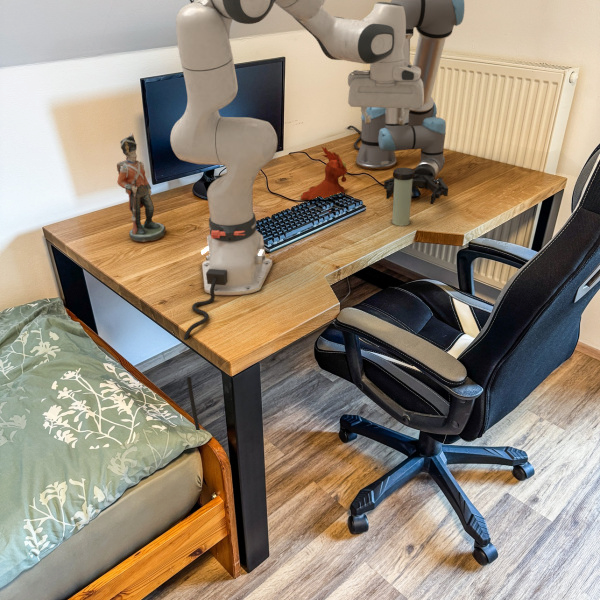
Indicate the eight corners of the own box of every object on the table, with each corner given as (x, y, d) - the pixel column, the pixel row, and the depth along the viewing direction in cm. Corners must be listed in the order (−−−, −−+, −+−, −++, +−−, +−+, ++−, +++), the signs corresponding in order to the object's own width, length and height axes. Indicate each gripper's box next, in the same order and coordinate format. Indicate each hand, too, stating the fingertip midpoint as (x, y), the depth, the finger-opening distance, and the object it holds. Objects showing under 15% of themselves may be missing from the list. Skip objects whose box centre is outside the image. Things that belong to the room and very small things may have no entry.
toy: (355, 194, 190) (356, 151, 182) (309, 205, 184) (308, 160, 176) (337, 183, 200) (337, 141, 192) (293, 193, 193) (291, 150, 186)
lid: (416, 179, 160) (416, 174, 159) (394, 180, 160) (394, 175, 159) (412, 172, 165) (412, 167, 165) (391, 173, 165) (391, 167, 165)
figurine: (157, 243, 164) (137, 141, 148) (123, 241, 166) (100, 140, 150) (171, 228, 173) (154, 130, 157) (139, 226, 175) (119, 129, 159)
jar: (410, 225, 168) (414, 175, 160) (393, 226, 168) (396, 175, 160) (407, 218, 173) (411, 169, 164) (390, 219, 173) (393, 169, 164)
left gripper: (345, 72, 148) (345, 125, 156) (424, 73, 143) (420, 128, 151) (350, 67, 153) (350, 118, 161) (426, 68, 148) (422, 121, 156)
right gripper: (461, 189, 184) (449, 213, 168) (387, 181, 193) (369, 204, 177) (464, 166, 180) (452, 190, 164) (388, 159, 189) (370, 181, 173)
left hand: (384, 123), depth 156 cm, fingers open, 8 cm apart
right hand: (409, 197), depth 170 cm, fingers open, 13 cm apart
